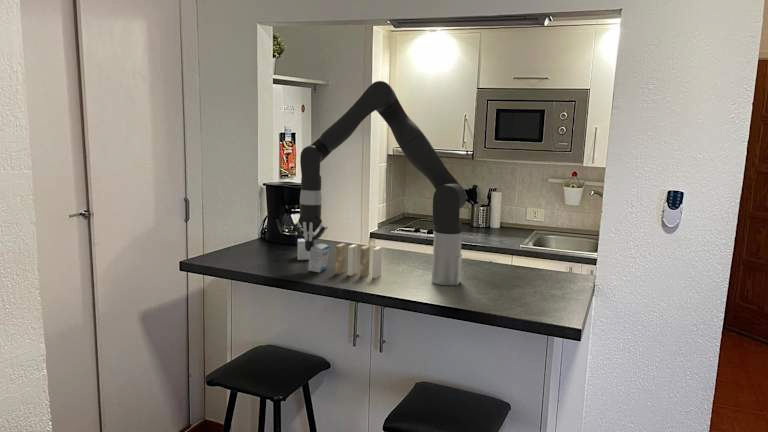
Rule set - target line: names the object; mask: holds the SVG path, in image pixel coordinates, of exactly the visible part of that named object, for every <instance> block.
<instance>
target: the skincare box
mask: <svg viewBox="0 0 768 432" xmlns="http://www.w3.org/2000/svg"><path fill="white" fill-rule="evenodd" d="M309 259H310V251H306V249H305V240H304V239H301V238H297V260H300V261H301V260H309Z"/></svg>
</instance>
